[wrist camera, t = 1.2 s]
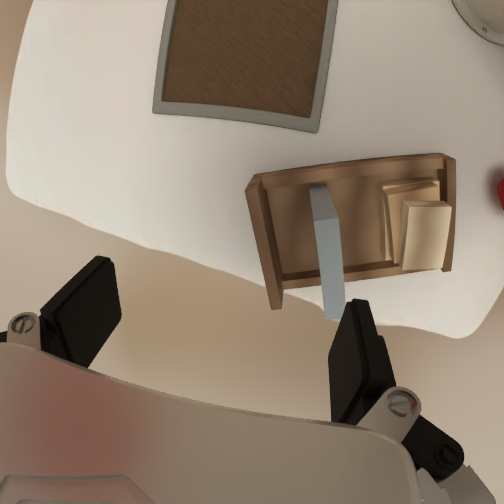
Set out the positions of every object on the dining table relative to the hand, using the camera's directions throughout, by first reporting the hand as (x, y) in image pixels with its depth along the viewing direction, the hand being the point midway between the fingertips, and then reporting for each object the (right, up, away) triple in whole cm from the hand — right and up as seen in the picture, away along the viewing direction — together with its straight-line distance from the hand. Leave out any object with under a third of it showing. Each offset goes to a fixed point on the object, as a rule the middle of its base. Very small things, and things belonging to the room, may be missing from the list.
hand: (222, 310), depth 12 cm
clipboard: (+1, +31, +15) cm, 34 cm away
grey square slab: (+9, +5, +24) cm, 26 cm away
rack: (+14, +6, +24) cm, 29 cm away
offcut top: (+19, +4, +18) cm, 27 cm away
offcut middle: (+19, +6, +20) cm, 28 cm away
